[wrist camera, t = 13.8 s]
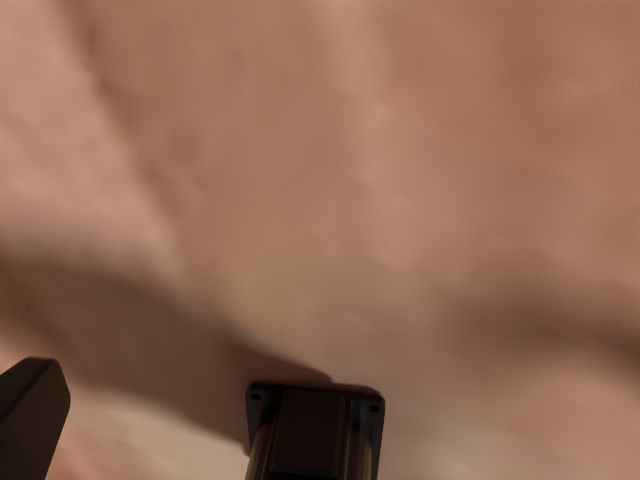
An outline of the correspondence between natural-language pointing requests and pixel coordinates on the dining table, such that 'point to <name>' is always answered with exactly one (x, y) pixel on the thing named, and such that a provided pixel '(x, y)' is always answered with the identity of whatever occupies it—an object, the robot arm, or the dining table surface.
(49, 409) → the robot arm
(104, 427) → the dining table surface
